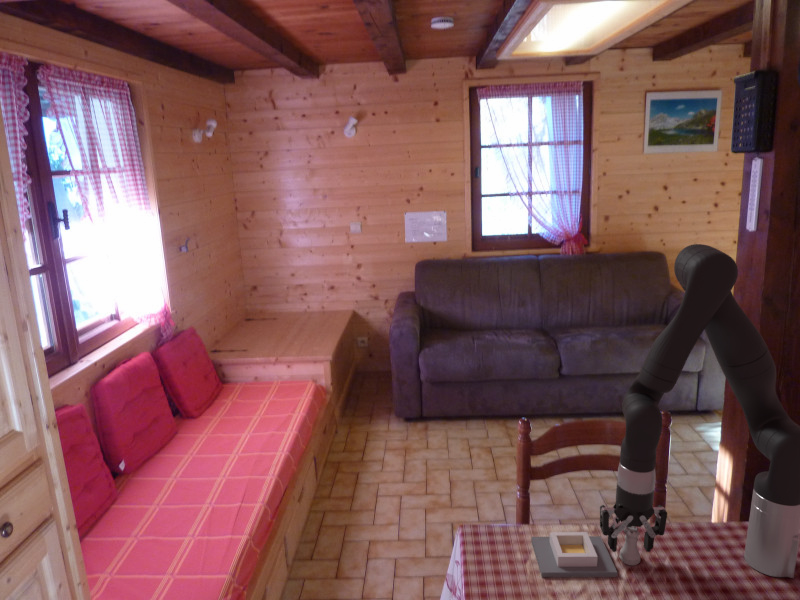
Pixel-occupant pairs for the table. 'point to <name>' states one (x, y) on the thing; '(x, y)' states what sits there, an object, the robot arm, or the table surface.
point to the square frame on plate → (572, 555)
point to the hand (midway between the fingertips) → (630, 549)
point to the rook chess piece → (630, 547)
